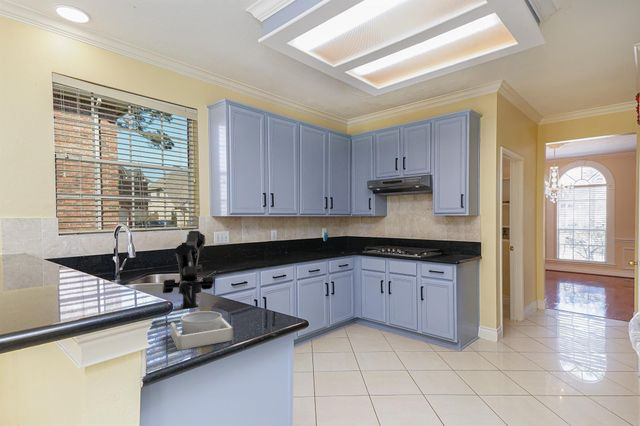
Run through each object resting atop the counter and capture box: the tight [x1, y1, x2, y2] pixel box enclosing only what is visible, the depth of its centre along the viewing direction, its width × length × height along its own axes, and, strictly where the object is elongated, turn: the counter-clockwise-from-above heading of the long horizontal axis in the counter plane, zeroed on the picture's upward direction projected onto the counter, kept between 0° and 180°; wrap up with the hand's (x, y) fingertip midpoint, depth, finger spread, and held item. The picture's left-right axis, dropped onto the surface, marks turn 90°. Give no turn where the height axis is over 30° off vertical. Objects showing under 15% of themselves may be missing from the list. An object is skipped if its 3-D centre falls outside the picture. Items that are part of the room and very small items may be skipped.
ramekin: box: [180, 310, 223, 335], centre depth 113 cm, size 13×13×7 cm
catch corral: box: [170, 317, 234, 351], centre depth 112 cm, size 16×17×4 cm
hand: (191, 302), depth 127 cm, fingers closed
